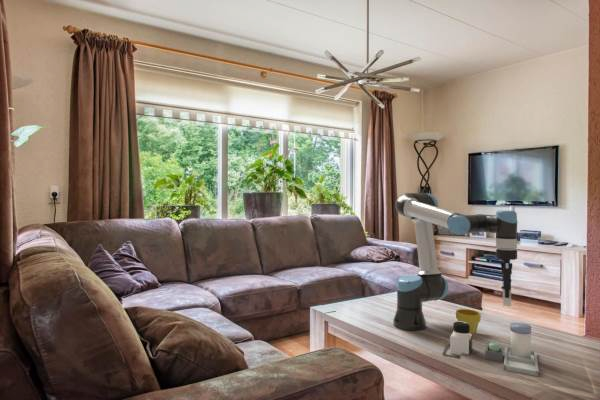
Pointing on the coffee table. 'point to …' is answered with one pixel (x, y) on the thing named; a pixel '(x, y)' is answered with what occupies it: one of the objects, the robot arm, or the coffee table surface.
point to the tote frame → (446, 354)
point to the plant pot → (469, 318)
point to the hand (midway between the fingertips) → (506, 301)
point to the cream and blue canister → (520, 340)
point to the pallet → (514, 361)
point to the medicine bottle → (460, 338)
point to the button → (494, 347)
